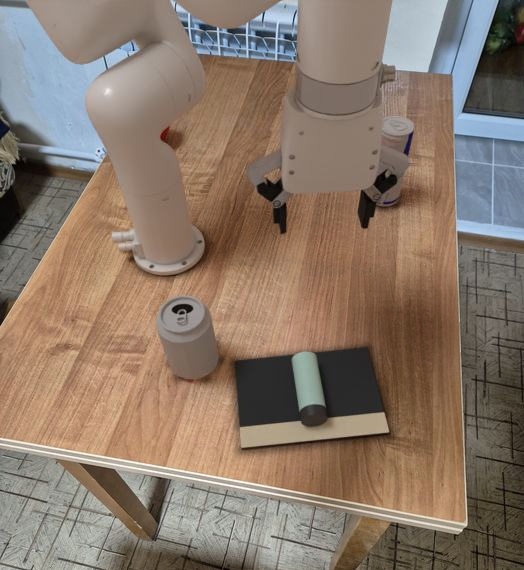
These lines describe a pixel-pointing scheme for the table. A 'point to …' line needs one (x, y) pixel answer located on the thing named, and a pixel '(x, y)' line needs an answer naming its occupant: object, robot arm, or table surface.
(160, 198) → the robot arm
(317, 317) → the table surface
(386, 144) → the beverage can
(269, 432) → the book
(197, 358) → the can
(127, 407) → the table surface
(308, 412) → the vial
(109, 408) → the table surface
